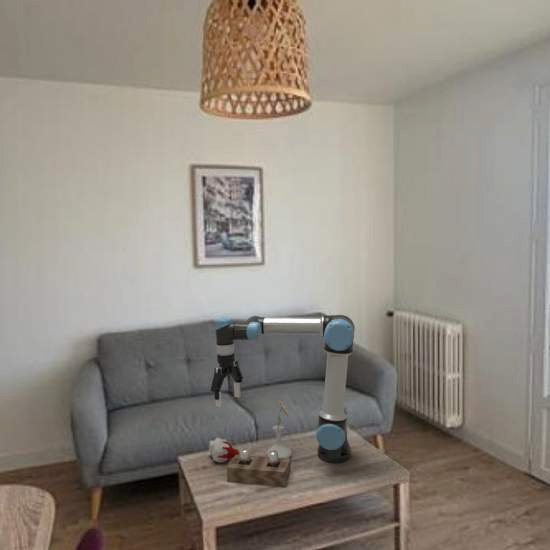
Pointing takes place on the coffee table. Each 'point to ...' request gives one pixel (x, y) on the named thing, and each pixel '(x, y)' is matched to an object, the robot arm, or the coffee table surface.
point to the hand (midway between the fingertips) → (228, 401)
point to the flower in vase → (282, 449)
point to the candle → (222, 450)
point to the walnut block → (259, 471)
